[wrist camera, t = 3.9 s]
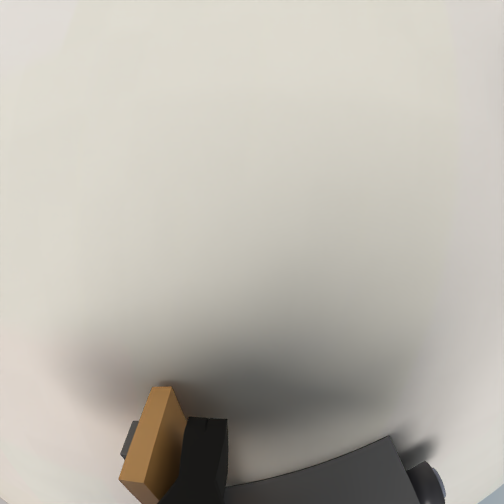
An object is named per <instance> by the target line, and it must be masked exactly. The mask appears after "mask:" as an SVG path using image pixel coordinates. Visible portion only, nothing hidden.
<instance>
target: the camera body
mask: <svg viewBox="0 0 504 504" xmlns="http://www.w3.org/2000/svg"><path fill="white" fill-rule="evenodd" d="M445 497H446V492H445V488H444V485H443V482H442V480H441V478H440V476H439V474H438V472H437V471H436V470H435V469H434V468H431V466H430V465H429V464H428V463H427V462H426V461H424V462H422V463H420V464H418V465H417V466H415V467H413V468H411V469H409V470H407V471H405V468H404V466H403V464H402V462H401V460H400V457H399V455H398V453H397V451H396V449H395V447H394V444H393V442H392V440H391V438H390V436H387V437H385V438H383V439H381V440H379V441H377V442H375V443H372V444H370V445H368V446H366V447H363V448H361V449H359V450H356V451H354V452H351V453H349V454H346V455H344V456H341V457H339V458H336V459H333V460H330V461H328V462H325V463H322V464H319V465H316V466H313V467H310V468H307V469H303V470H300V471H297V472H293V473H290V474H286V475H282V476H279V477H275V478H271V479H266V480H262V481H258V482H253V483H248V484H243V485H238V486H232V487H226V488H225V492H224V498H223V500H224V502H225V504H445V499H444V498H445Z"/></svg>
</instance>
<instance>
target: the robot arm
mask: <svg viewBox="0 0 504 504" xmlns="http://www.w3.org/2000/svg"><path fill="white" fill-rule="evenodd" d="M227 472H228V429H227V419H213V418H210V419H207V418H199V417H189V418H188V421H187V424H186V427H185V430H184V435H183V443H182V451H181V460H180V469H179V476H178V478H177V479H176V481H175V482H174V484H173V485H172V486H171V487H170V489H169V490H168V491H167V493H166V494H165V495H164V496H163V497H162V498H161V500H160V501H159V502H158V503H157V504H225V502H224V500H223V498H224V492H225V486H226V479H227Z"/></svg>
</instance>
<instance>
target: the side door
mask: <svg viewBox="0 0 504 504" xmlns="http://www.w3.org/2000/svg"><path fill="white" fill-rule="evenodd" d="M186 424H187V421H186V419H185V416H184V414H183V412H182V410H181V407H180V405H179V403H178V400H177V398H176V396H175V393H174V391H173V388H172V386H169V387H152V389H151V391H150V394H149V397H148V399H147V402H146V404H145V407H144V410H143V412H142V415H141V418H140V420H139V421H133V422H132V425H131V427H130V430H129V433H128V435H127V438H126V440H125V443H124V446H123V448H122V451H121V456H122V457H123V458H124V460H125V462H124V464H123V467H122V470H121V473H120V476H119V481H120V482H121V483H122V484H123V485H124V486H125V487H126V488H127V489H128V490H129V491H130V492H131V493H132V494H133V495H134V496H135V497H136V498H137V499H138V500H139V501H140V502H141V503H142V504H157V503H158V502H159V501H160V500H161V498H162V497H163V496H164V495H165V494H166V493H167V491H168V490H169V489H170V487H171V486H172V485H173V484H174V482H175V481H176V479H177V478H178V476H179V469H180V460H181V451H182V443H183V435H184V430H185V427H186Z"/></svg>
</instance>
